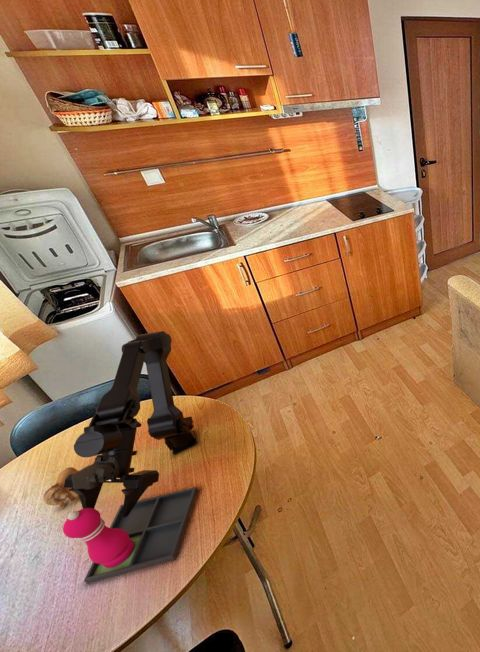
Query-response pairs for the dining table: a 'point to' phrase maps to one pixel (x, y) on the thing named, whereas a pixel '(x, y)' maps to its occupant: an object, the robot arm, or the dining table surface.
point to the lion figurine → (60, 490)
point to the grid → (150, 532)
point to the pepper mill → (99, 537)
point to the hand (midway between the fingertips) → (106, 516)
